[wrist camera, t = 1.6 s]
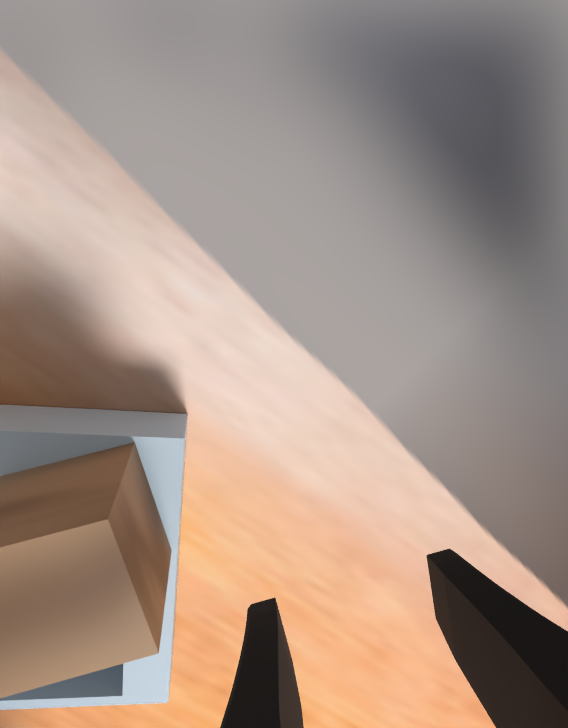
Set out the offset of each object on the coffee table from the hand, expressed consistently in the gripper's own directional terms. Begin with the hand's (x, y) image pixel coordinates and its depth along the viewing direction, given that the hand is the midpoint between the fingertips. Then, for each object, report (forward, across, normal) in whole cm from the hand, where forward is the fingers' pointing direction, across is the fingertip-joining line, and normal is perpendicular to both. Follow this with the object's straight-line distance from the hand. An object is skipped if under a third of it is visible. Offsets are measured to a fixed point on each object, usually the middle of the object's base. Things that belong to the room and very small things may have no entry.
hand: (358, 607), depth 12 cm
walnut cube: (+8, +8, 0) cm, 12 cm away
